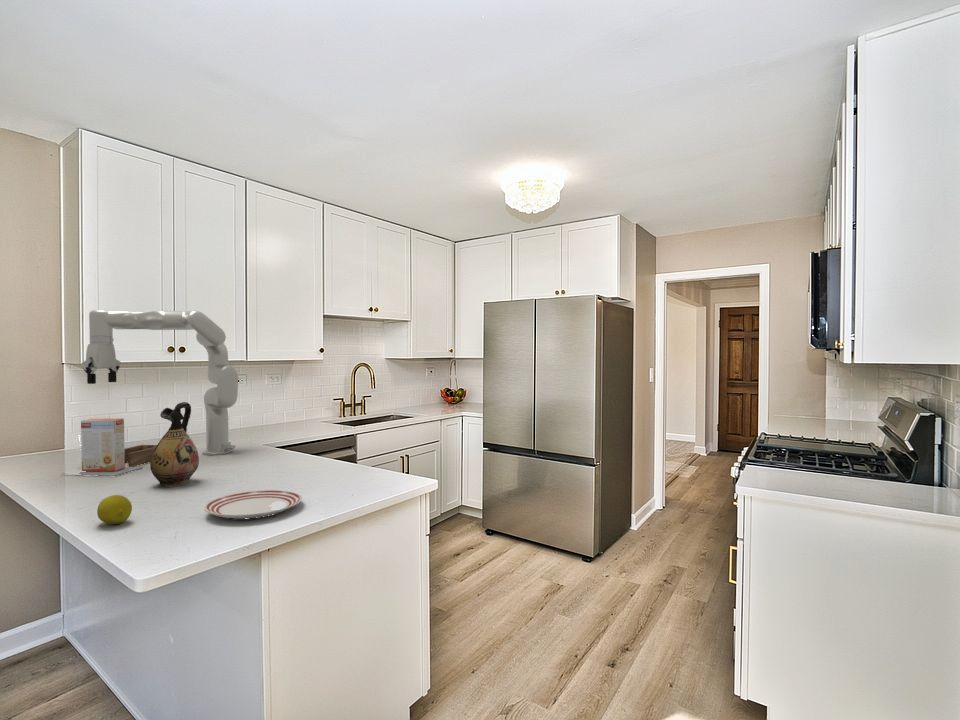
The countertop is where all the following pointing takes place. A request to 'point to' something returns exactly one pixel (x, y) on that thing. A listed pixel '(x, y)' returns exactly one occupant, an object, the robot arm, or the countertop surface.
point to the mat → (111, 472)
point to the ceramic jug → (175, 450)
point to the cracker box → (102, 444)
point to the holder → (139, 454)
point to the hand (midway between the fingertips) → (102, 382)
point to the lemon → (114, 509)
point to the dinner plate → (251, 503)
